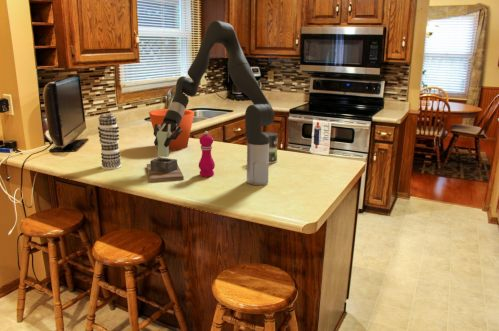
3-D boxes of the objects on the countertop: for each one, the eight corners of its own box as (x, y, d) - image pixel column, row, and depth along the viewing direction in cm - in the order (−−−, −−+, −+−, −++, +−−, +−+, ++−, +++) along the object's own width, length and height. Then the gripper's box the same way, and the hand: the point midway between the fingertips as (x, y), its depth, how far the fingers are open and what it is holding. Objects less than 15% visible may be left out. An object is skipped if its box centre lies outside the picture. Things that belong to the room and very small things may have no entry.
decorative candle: (113, 170, 193) (109, 116, 187) (97, 168, 197) (92, 115, 190) (125, 165, 202) (122, 113, 195) (109, 163, 205) (105, 112, 198)
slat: (169, 156, 189) (168, 132, 186) (166, 157, 187) (165, 132, 184) (160, 154, 191) (159, 131, 187) (158, 156, 189) (156, 131, 186)
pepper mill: (200, 172, 192) (199, 129, 187) (215, 172, 192) (215, 129, 186) (197, 177, 185) (196, 132, 180) (214, 177, 185) (213, 133, 180)
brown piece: (176, 164, 204) (176, 152, 202) (183, 179, 182) (183, 166, 180) (146, 166, 200) (146, 154, 198) (150, 182, 178) (149, 168, 176)
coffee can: (278, 159, 217) (279, 132, 213) (275, 164, 207) (276, 136, 203) (258, 157, 219) (259, 131, 215) (254, 163, 209) (255, 135, 205)
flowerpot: (176, 154, 223) (174, 117, 218) (141, 148, 235) (138, 113, 230) (203, 145, 244) (203, 111, 239) (170, 140, 256) (169, 107, 251)
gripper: (157, 108, 192) (143, 139, 185) (184, 110, 187) (170, 142, 180) (165, 117, 199) (150, 148, 191) (191, 120, 193) (177, 151, 186)
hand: (160, 145), depth 186 cm, fingers closed on slat, 4 cm apart
